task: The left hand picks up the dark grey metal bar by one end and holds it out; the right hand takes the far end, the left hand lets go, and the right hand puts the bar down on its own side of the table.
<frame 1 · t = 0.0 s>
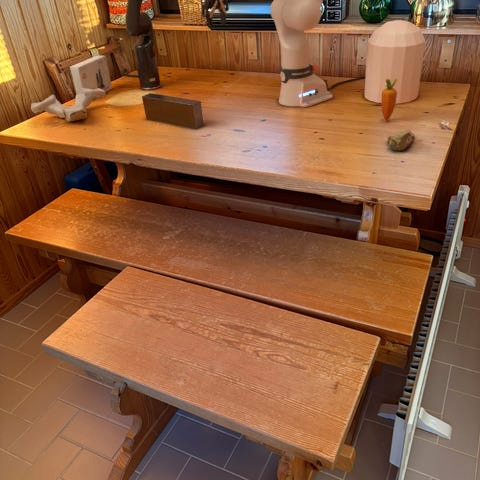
left hand: (217, 26, 186), 29 cm above the table, tool pointing down, fingers open, 8 cm apart
container: (390, 95, 188), on the table
animal horns: (75, 119, 195), on the table
bar: (174, 122, 183), on the table
skincare box: (96, 95, 222), on the table
rock: (401, 146, 148), on the table
carrot: (386, 121, 166), on the table
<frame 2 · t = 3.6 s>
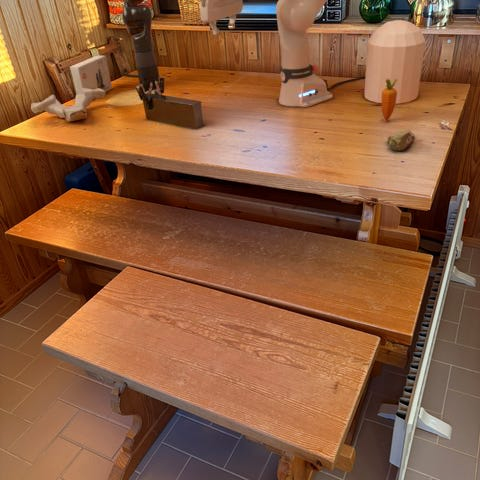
left hand: (154, 107, 185), 5 cm above the table, tool pointing down, fingers closed on bar, 4 cm apart
right hand: (224, 31, 165), 31 cm above the table, tool pointing down, fingers open, 8 cm apart
bar: (174, 122, 183), on the table, touching left hand
everything else where it was.
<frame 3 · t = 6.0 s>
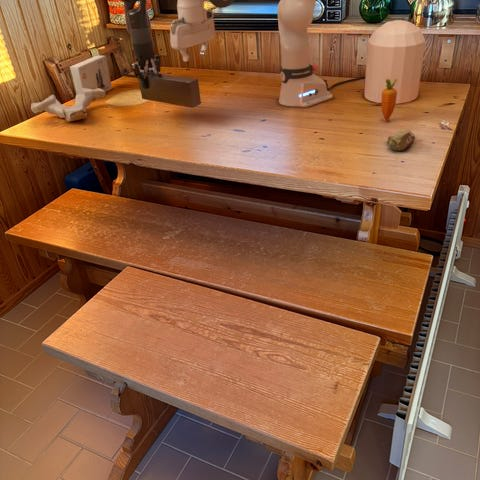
left hand: (150, 86, 181), 13 cm above the table, tool pointing down, fingers closed on bar, 4 cm apart
right hand: (195, 57, 166), 24 cm above the table, tool pointing down, fingers open, 8 cm apart
bar: (170, 101, 179), point 8 cm above the table, touching left hand
everything else where it was.
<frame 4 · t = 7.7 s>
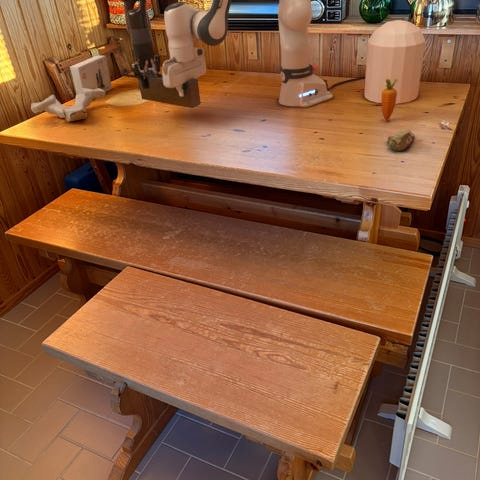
left hand: (150, 86, 181), 13 cm above the table, tool pointing down, fingers closed on bar, 4 cm apart
right hand: (187, 93, 171), 13 cm above the table, tool pointing down, fingers closed on bar, 5 cm apart
bar: (170, 101, 179), point 8 cm above the table, touching left hand, right hand
everything else where it was.
when the left hand's fingers open (13 cm above the table, at t = 8.8 s): bar stays where it is, held by the right hand.
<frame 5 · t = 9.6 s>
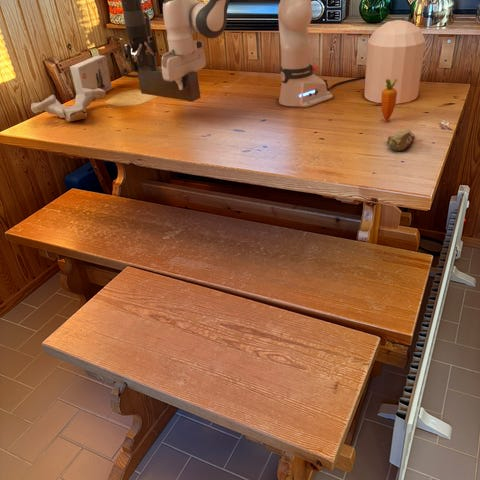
left hand: (144, 68, 178), 20 cm above the table, tool pointing down, fingers open, 8 cm apart
right hand: (187, 86, 170), 15 cm above the table, tool pointing down, fingers closed on bar, 5 cm apart
bar: (170, 95, 177), point 10 cm above the table, touching right hand
everything else where it was.
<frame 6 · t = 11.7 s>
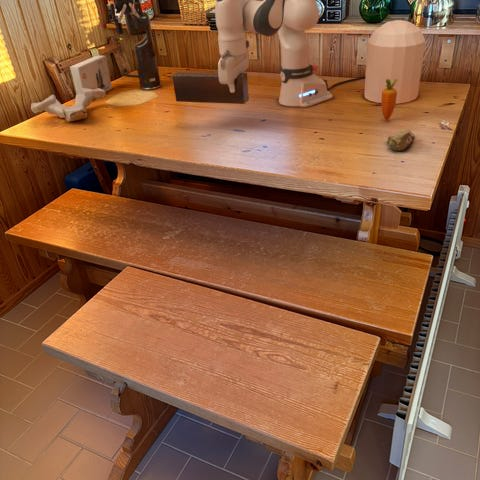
left hand: (129, 31, 173), 33 cm above the table, tool pointing down, fingers open, 8 cm apart
right hand: (236, 89, 161), 15 cm above the table, tool pointing down, fingers closed on bar, 5 cm apart
bar: (212, 100, 167), point 11 cm above the table, touching right hand
everything else where it was.
when the right hand's fingers open (5 cm above the table, at t = 15.6 s): bar stays where it is, on the table.
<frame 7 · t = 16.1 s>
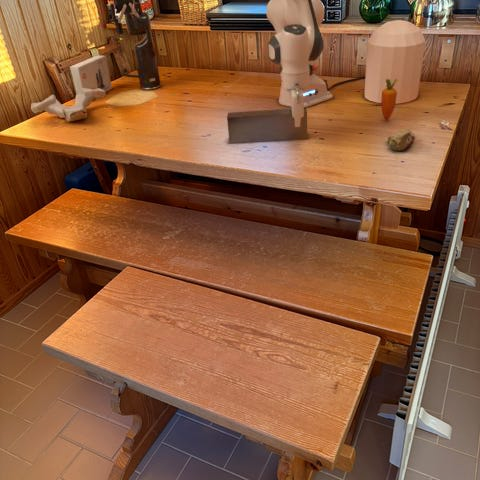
left hand: (129, 31, 173), 33 cm above the table, tool pointing down, fingers open, 8 cm apart
right hand: (296, 121, 158), 6 cm above the table, tool pointing down, fingers open, 8 cm apart
bar: (268, 138, 162), on the table
everything else where it was.
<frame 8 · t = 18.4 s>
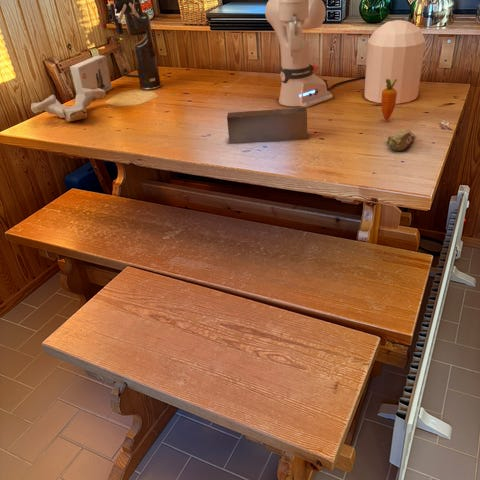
left hand: (129, 31, 173), 33 cm above the table, tool pointing down, fingers open, 8 cm apart
right hand: (294, 60, 146), 26 cm above the table, tool pointing down, fingers open, 8 cm apart
nothing on the table moved.
at the end: bar inside the target area (9.6 cm from its centre), on the table; the left hand is holding nothing; the right hand is holding nothing; bar at rest at the end (0.0 cm/s) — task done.
